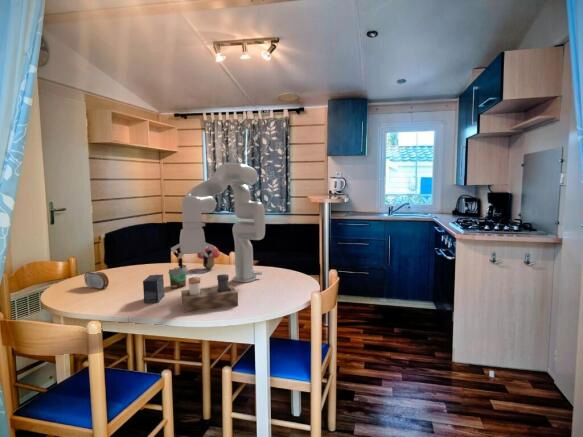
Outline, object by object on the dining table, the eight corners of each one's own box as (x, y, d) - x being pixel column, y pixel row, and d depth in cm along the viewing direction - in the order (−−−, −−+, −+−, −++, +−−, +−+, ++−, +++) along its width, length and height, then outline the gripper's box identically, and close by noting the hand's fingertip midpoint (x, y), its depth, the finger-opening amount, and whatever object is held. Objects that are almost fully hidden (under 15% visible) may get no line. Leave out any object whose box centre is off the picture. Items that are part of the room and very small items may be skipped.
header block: (232, 298, 166) (231, 285, 165) (238, 306, 154) (237, 292, 154) (181, 304, 158) (181, 290, 157) (184, 313, 146) (183, 298, 146)
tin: (109, 288, 182) (108, 272, 181) (104, 290, 179) (103, 273, 178) (89, 285, 188) (88, 269, 187) (83, 287, 185) (82, 271, 185)
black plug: (228, 300, 161) (227, 273, 160) (230, 303, 157) (229, 276, 156) (217, 301, 159) (216, 275, 158) (219, 305, 155) (218, 277, 154)
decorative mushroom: (212, 272, 214) (211, 247, 213) (193, 270, 219) (192, 245, 217) (224, 267, 226) (223, 243, 225) (206, 265, 231) (205, 242, 230)
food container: (180, 290, 179) (179, 270, 178) (169, 289, 180) (168, 269, 179) (192, 283, 191) (191, 264, 190) (181, 282, 192) (180, 264, 191)
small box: (150, 296, 169) (149, 274, 168) (164, 296, 169) (163, 274, 168) (143, 304, 158) (142, 280, 157) (158, 303, 159) (157, 280, 158)
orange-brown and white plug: (200, 303, 157) (199, 276, 156) (201, 307, 152) (200, 279, 151) (188, 305, 155) (187, 277, 154) (190, 308, 151) (189, 280, 150)
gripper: (211, 224, 157) (212, 263, 158) (169, 226, 151) (170, 266, 152) (214, 226, 150) (215, 267, 151) (170, 227, 144) (171, 270, 145)
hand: (193, 266), depth 152 cm, fingers open, 9 cm apart
